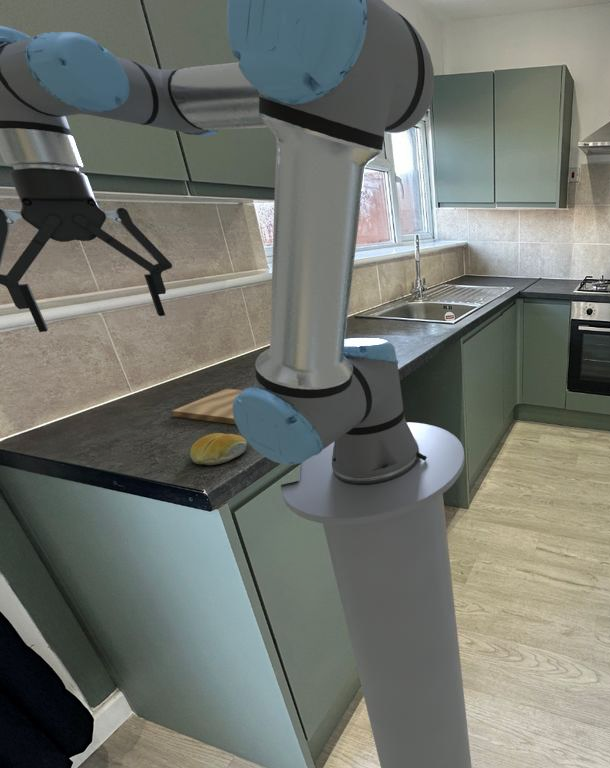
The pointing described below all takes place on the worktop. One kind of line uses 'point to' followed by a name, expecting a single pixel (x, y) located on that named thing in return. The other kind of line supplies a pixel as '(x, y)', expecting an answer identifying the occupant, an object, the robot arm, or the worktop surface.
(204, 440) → the bread roll
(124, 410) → the worktop surface
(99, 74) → the robot arm
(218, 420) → the cutting board
